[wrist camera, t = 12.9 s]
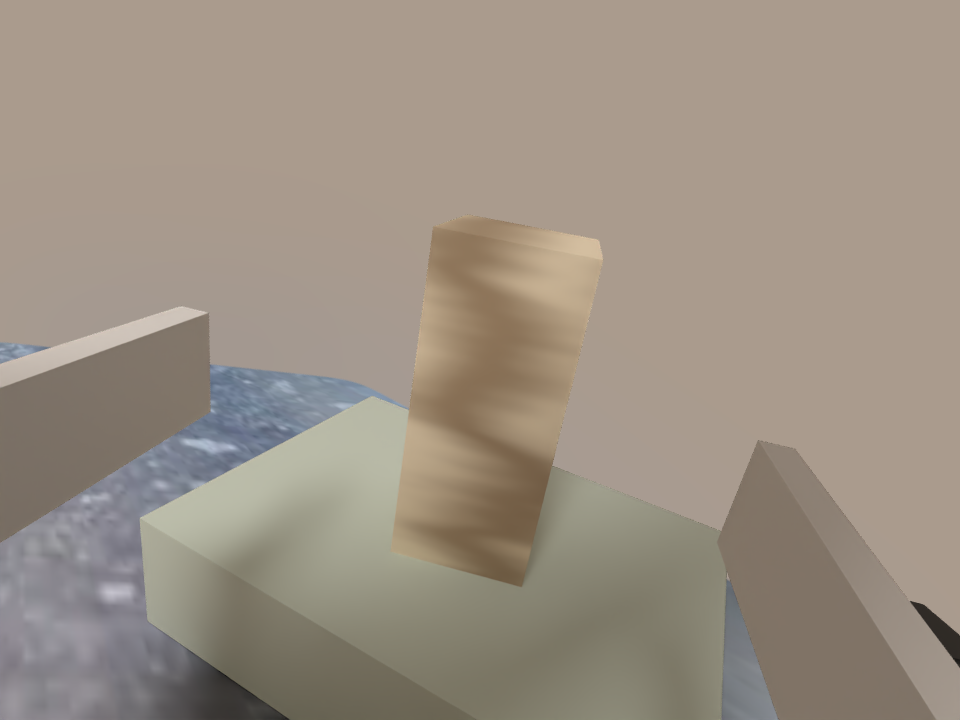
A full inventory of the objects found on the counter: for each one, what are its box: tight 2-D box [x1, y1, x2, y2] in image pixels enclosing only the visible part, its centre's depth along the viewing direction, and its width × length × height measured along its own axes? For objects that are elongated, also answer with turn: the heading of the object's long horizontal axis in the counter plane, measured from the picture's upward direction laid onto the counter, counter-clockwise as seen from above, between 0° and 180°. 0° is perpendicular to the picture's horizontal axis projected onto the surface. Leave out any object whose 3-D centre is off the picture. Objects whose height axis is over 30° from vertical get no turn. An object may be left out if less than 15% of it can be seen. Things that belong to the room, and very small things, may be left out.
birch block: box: [390, 215, 603, 587], centre depth 20 cm, size 5×5×12 cm
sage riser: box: [140, 396, 727, 720], centre depth 23 cm, size 20×14×5 cm
